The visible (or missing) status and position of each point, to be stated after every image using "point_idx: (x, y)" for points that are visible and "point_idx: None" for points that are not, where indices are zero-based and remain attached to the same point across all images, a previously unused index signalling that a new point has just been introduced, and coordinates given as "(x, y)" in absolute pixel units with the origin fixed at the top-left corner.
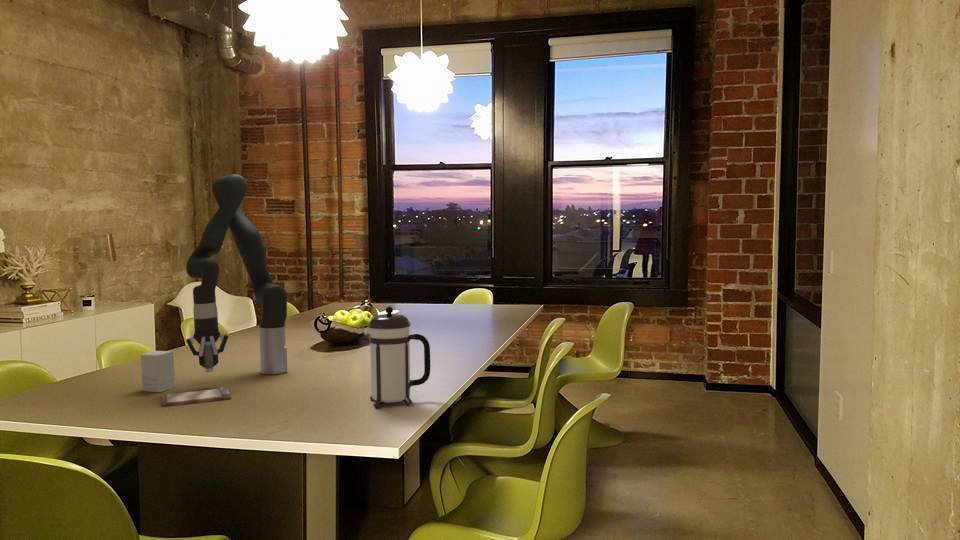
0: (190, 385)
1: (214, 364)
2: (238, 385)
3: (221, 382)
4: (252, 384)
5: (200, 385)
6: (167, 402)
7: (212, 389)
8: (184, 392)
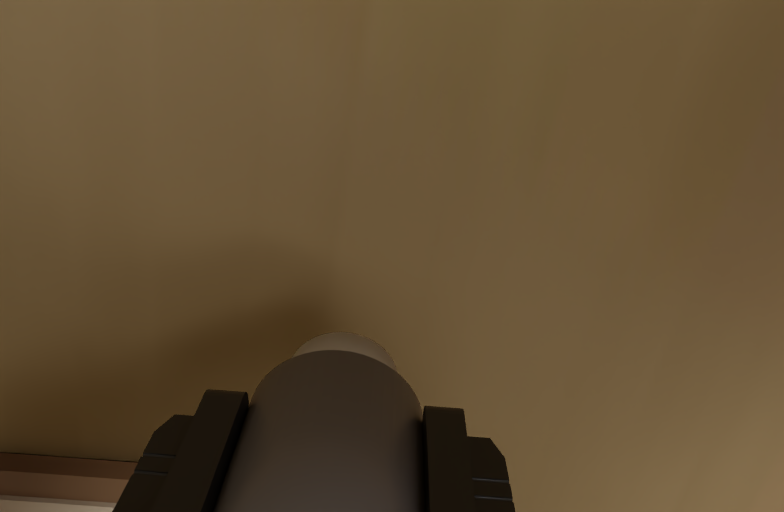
0: (133, 40)
1: None
2: (644, 351)
3: (528, 87)
4: (781, 381)
5: (257, 116)
6: None
7: None
8: (74, 506)
